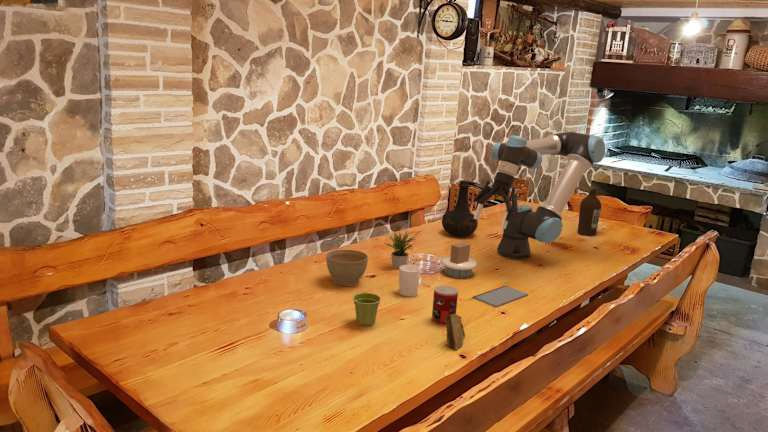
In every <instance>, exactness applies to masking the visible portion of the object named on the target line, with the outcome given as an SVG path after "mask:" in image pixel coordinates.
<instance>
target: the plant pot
mask: <svg viewBox="0 0 768 432" xmlns="http://www.w3.org/2000/svg"><path fill="white" fill-rule="evenodd" d="M352 300H353V304H354V308H355V318H356V323H357V324H358V325H360V326H365V327H366V326H367V327H368V326H373V325H375V324H376V319H377V315H378V314H377V313H378V310H379V309H378V308H379V305H380V302H381V300H382V297H381V296H380V295H378V294H377V293H371V292H358V293H356V294H354V295H353V296H352Z"/></svg>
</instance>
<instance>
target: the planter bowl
mask: <svg viewBox="0 0 768 432" xmlns="http://www.w3.org/2000/svg"><path fill="white" fill-rule="evenodd" d="M325 258H326V268H327V270H328V273H329V274H330V277H331V278H332V280H333V282H334V284H335V285H338V286H342V287H353V286H357V285H358V283H359V282H360V281H359V280H361V278H363V276H364V274H365V272H366V269H367V267H368V261H369V255H368V254H367V253H366V252H364V251H361V250H355V249H335V250H331V251H328V252H327V253H326V255H325Z"/></svg>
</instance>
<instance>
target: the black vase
mask: <svg viewBox="0 0 768 432" xmlns="http://www.w3.org/2000/svg"><path fill="white" fill-rule="evenodd" d="M457 185H458V186H459V187H458V195H457V199H456V203H455V206H454V208H453V210H452V209H451V210H447V211H445V212H444V213H443V215H442V219H441V225H442V229H443V230H444V232H446V233H447V234H448V235H449V236H451V237H453V238H454V237H455V238H467V237H469V236H471V235H473V234H474V233H475V232H476V230H477V228H478V226H479V223H478V222H479V220H477V219H474V215H475V214H473V213H472V212H471V211H470V209H469V188H470V187H471V184H470V183H469V180H463V179H461V180H459V183H458V184H457Z"/></svg>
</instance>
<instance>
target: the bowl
mask: <svg viewBox="0 0 768 432" xmlns="http://www.w3.org/2000/svg"><path fill="white" fill-rule="evenodd" d="M473 270H474V269H469V270H458V269H452V268H449V267H446V266H444V274H445V275H446V276H449V277H451V278H454V279H455V278H456V279H467V278H470V277H472V276H473Z"/></svg>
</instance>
